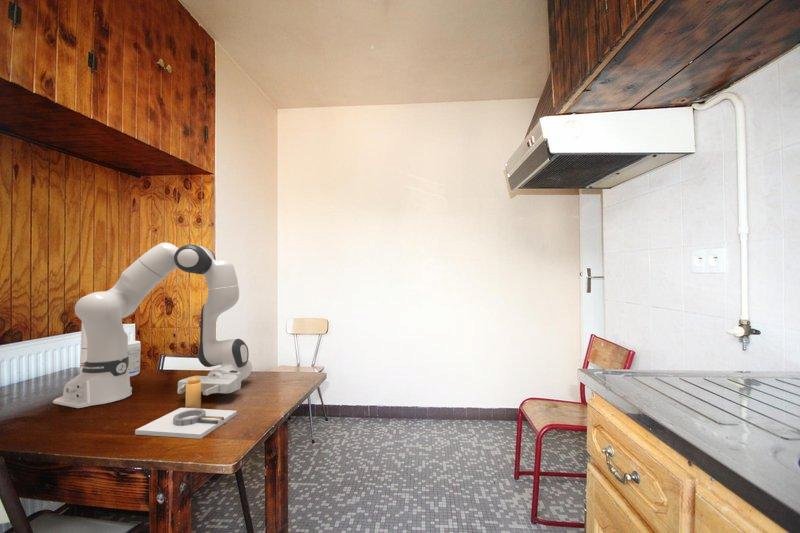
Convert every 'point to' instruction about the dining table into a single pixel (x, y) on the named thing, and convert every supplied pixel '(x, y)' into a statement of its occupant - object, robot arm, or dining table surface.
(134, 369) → the supplement tub
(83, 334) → the cylindrical container
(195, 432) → the plate
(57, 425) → the dining table surface
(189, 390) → the tan capped bottle
